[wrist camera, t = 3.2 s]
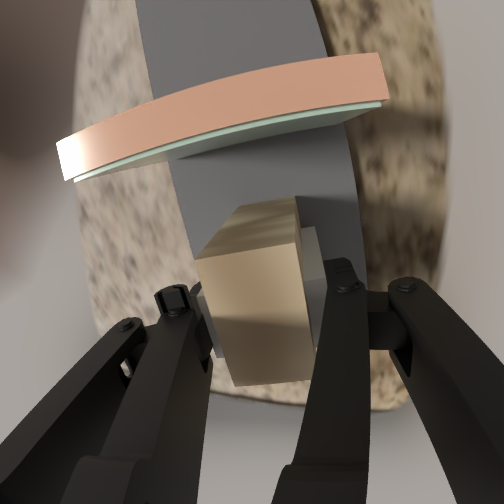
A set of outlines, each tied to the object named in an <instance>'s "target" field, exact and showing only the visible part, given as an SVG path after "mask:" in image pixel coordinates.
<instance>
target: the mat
mask: <svg viewBox="0 0 504 504" xmlns="http://www.w3.org/2000/svg"><path fill="white" fill-rule="evenodd" d="M135 1H136V8H137V14H138V20H139V26H140V32H141V37H142V43H143V48H144V54H145V59H146V64H147V69H148V74H149V79H150V84H151V89H152V94H153V98H154V100H155V99H158V98H161V97H164V96H167V95H170V94H173V93H176V92H179V91H182V90H185V89H188V88H191V87H194V86H198V85H201V84H204V83H208V82H211V81H215V80H218V79H222V78H226V77H230V76H234V75H238V74H242V73H246V72H250V71H254V70H259V69H264V68H268V67H273V66H278V65H283V64H289V63H294V62H300V61H306V60H313V59H320V58H327V57H328V56H327V52H326V49H325V45H324V42H323V38H322V35H321V32H320V29H319V25H318V22H317V19H316V16H315V13H314V10H313V7H312V4H311V1H310V0H135ZM168 164H169V168H170V172H171V176H172V180H173V184H174V188H175V192H176V195H177V199H178V203H179V207H180V211H181V214H182V218H183V222H184V225H185V229H186V233H187V236H188V240H189V243H190V247H191V250H192V254H193V257H194V259H195V258H196V257H197V256H198V254H199V253H200V252H201V251H202V250H203V248H204V247H205V246H206V245H207V244H208V242H209V241H210V240H211V239H212V238H213V236H214V235H215V234H216V233H217V232H218V230H219V229H220V228H221V227H222V226H223V224H224V223H225V222H226V221H227V220H228V218H229V217H230V216H231V215H232V214H233V212H234V211H235V210H236V209H237V208H238V207H239V206H243V205H248V204H253V203H258V202H263V201H268V200H274V199H279V198H284V197H290V196H295V200H296V205H297V210H298V215H299V220H300V226H301V228H306V227H312V226H315V229H316V234H317V238H318V243H319V247H320V252H321V256H322V261H324V260H330V259H336V258H342V257H345V258H346V259H348V260H350V261H351V263H352V266H353V268H354V270H355V273H356V275H357V277H358V280H360V281H361V282H363V283H364V285H365V289H366V290H368V283H367V272H366V261H365V251H364V242H363V234H362V226H361V218H360V211H359V204H358V197H357V190H356V184H355V178H354V172H353V166H352V161H351V155H350V150H349V145H348V140H347V135H346V130H345V125H344V122H341V123H339V124H337V125H331V126H324V127H318V128H312V129H307V130H301V131H296V132H290V133H285V134H280V135H275V136H270V137H265V138H260V139H256V140H251V141H247V142H242V143H238V144H234V145H229V146H225V147H221V148H217V149H213V150H209V151H205V152H202V153H198V154H194V155H190V156H187V157H183V158H180V159H176V160H172V161H168Z"/></svg>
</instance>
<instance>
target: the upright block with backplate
mask: <svg viewBox="0 0 504 504" xmlns="http://www.w3.org/2000/svg"><path fill="white" fill-rule="evenodd" d="M194 262H195V265H196V269H197V272H198V275H199V279H200V282H201V285H202V289H203V292H204V295H205V298H206V302H207V305H208V308H209V311H210V314H211V317H212V321H213V324H214V327H215V330H216V333H217V336H218V339H219V342H220V345H221V348H222V351H223V354H224V357H225V360H226V363H227V366H228V369H229V372H230V375H231V377H232V380H233V383H234V386H235V387H236V386H251V385H264V384H275V383H285V382H294V381H303V380H311V379H312V374H313V369H314V364H315V358H316V347H315V346H314V340H313V333H312V327H311V321H310V315H309V309H308V302H307V297H306V291H305V285H304V274H303V256H302V240H301V226H300V220H299V215H298V210H297V205H296V200H295V196H290V197H284V198H279V199H274V200H268V201H263V202H258V203H253V204H248V205H243V206H239V207H238V208H237V209H236V210H235V211H234V212H233V214H232V215H231V216H230V217H229V218H228V220H227V221H226V222H225V223H224V224H223V226H222V227H221V228H220V229H219V230H218V232H217V233H216V234H215V235H214V236H213V238H212V239H211V240H210V241H209V242H208V244H207V245H206V246H205V247H204V248H203V250H202V251H201V252H200V253H199V254H198V256H197V257H196V258H195V259H194Z"/></svg>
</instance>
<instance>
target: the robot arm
mask: <svg viewBox="0 0 504 504" xmlns="http://www.w3.org/2000/svg"><path fill="white" fill-rule="evenodd" d="M301 240H302V256H303V274H304V285H305V291H306V297H307V302H308V309H309V315H310V321H311V327H312V333H313V340H314V346H315V347H317V353H316V358H315V364H314V369H313V374H312V379H311V384H310V389H309V394H308V399H307V403H306V408H305V413H304V417H303V422H302V426H301V431H300V435H299V439H298V443H297V447H296V451H295V455H294V459H293V461H292V463H291V464H290V465H285V467H284V468H283V470H282V472H281V475H280V477H279V480H278V483H277V487H276V490H275V493H274V496H273V500H272V503H271V504H366V497H367V485H368V472H369V447H370V411H371V388H370V350H389V355H390V357H391V359H392V361H393V363H394V365H395V367H396V369H397V371H398V373H399V375H400V377H401V379H402V381H403V383H404V385H405V387H406V389H407V391H408V393H409V395H410V397H411V399H412V401H413V403H414V405H415V407H416V409H417V412H418V414H419V416H420V418H421V420H422V422H423V424H424V427H425V429H426V431H427V433H428V435H429V437H430V440H431V442H432V444H433V446H434V449H435V451H436V453H437V456H438V458H439V460H440V463H441V465H442V467H443V470H444V472H445V475H446V477H447V479H448V482H449V484H450V487H451V490H452V492H453V495H454V497H455V500H456V502H457V504H504V365H503V364H502V363H501V362H500V360H499V359H498V358H497V357H496V356H495V355H494V353H493V352H492V351H491V350H490V349H489V348H488V347H487V345H486V344H485V343H484V342H483V341H482V340H481V339H480V338H479V337H478V336H477V335H476V334H475V332H474V331H473V330H472V329H471V328H470V327H469V326H468V325H467V324H466V323H465V322H464V321H463V320H462V319H461V318H460V317H459V316H458V314H456V312H455V311H454V310H453V309H452V308H451V307H450V306H449V305H448V304H447V303H446V302H445V301H444V300H443V299H442V298H441V297H440V296H439V295H438V294H437V293H436V292H435V291H434V290H433V289H432V288H431V287H430V286H429V285H428V284H427V283H425V282H424V281H423V280H421V279H418V278H414V277H404V278H399V279H396V280H394V281H392V282H391V283H389V285H388V292H373V291H369V290H366V289H365V285H364V283H363V282H361V281H360V280H358V277H357V275H356V273H355V270H354V268H353V266H352V263H351V261H350V260H348V259H346V258H345V257H342V258H336V259H330V260H324V261H322V256H321V252H320V247H319V243H318V238H317V234H316V229H315V226H312V227H306V228H301ZM154 297H155V300H156V303H157V305H158V308H159V311H160V313H161V316H160V318H159V320H158V322H157V324H154V325H150V326H146V327H144V325H143V322H142V320H141V319H140V318H137V317H133V318H130V317H129V318H126V319H123V320H121V321H120V322H118V323H117V324H116V325H114V326H113V327H112V328H111V329H110V330H109V331H108V332H107V333H106V334H105V335H104V336H103V337H102V338H101V339H100V340H99V341H98V342H97V343H96V344H95V345H94V346H93V347H92V348H91V349H90V350H89V351H88V352H87V353H86V354H85V355H84V356H83V357H82V358H81V359H80V360H79V361H78V362H77V363H76V364H75V365H74V366H73V367H72V368H71V369H70V370H69V371H68V372H67V373H66V375H64V376H63V378H62V379H61V380H60V381H59V382H58V383H57V384H56V385H55V386H54V387H53V388H52V389H51V390H50V391H49V392H48V393H47V394H46V395H45V396H44V397H43V398H42V400H41V401H40V402H39V403H38V404H37V405H36V406H35V407H34V408H33V409H32V411H30V413H28V415H27V416H26V417H25V418H24V419H23V420H22V421H21V422H20V423H19V424H18V426H17V427H16V428H15V429H14V430H13V431H12V432H11V433H10V434H9V435H8V437H7V438H6V439H5V440H4V441H3V442H2V443H1V444H0V504H197V497H198V486H199V478H200V469H201V460H202V451H203V443H204V434H205V425H206V418H207V409H208V402H209V394H210V386H211V378H212V370H213V361H212V358H211V355H210V352H211V350H212V347H213V349H214V352H215V354H216V357H217V358H225V357H224V354H223V351H222V348H221V345H220V342H219V339H218V336H217V333H216V330H215V327H214V324H213V321H212V317H211V314H210V311H209V308H208V305H207V302H206V298H205V295H204V292H203V289H202V285H201V282H198V283H197V284H196V285H194V286H193V287H192V289H191V290H190V293H189V291H188V288H187V286H186V285H183V284H178V285H172V286H168V287H166V288H163V289H161V290H160V291H158V292H157V293H156V294H155V295H154ZM369 349H370V350H369ZM123 361H125V363H126V365H127V367H128V369H129V371H130V374H129V376H126V375H125V374H124V372H123V370H122V368H121V366H120V365H121V364H122V362H123Z"/></svg>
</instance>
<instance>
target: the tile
mask: <svg viewBox="0 0 504 504" xmlns="http://www.w3.org/2000/svg"><path fill="white" fill-rule="evenodd" d="M388 99H390V97H389V93H388V88H387V84H386V80H385V76H384V72H383V69H382V65H381V61H380V58H379V54H378V52H377V53H364V54H353V55H343V56H335V57H327V58H320V59H313V60H306V61H300V62H294V63H289V64H283V65H278V66H273V67H268V68H264V69H259V70H254V71H250V72H246V73H242V74H238V75H234V76H230V77H226V78H222V79H218V80H215V81H211V82H208V83H204V84H201V85H198V86H194V87H191V88H188V89H185V90H182V91H179V92H176V93H173V94H170V95H167V96H164V97H161V98H158V99H155V100H153V101H150V102H147V103H145V104H142V105H139V106H137V107H134V108H132V109H129V110H127V111H124V112H122V113H119V114H117V115H115V116H112V117H110V118H108V119H105V120H103V121H101V122H99V123H96V124H94V125H92V126H90V127H88V128H86V129H83V130H81V131H79V132H77V133H75V134H73V135H71V136H69V137H67V138H65V139H63V140H61V141H59V142H57V148H58V153H59V157H60V162H61V166H62V170H63V175H64V179H65V180H70V179H74V182H78V181H82V180H86V179H90V178H94V177H98V176H102V175H106V174H110V173H115V172H119V171H123V170H128V169H132V168H137V167H141V166H146V165H151V164H156V163H161V162H166V161H172V160H176V159H180V158H183V157H187V156H190V155H194V154H198V153H202V152H205V151H209V150H213V149H217V148H221V147H225V146H229V145H234V144H238V143H242V142H247V141H251V140H256V139H260V138H265V137H270V136H275V135H280V134H285V133H290V132H296V131H301V130H307V129H312V128H318V127H324V126H331V125H337V124H339V123H341V122H344V121H346V120H349V119H351V118H354V117H356V116H358V115H361V114H363V113H366V112H368V111H371V110H374V109H376V108H379V107H381V102H384V101H386V100H388Z"/></svg>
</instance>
